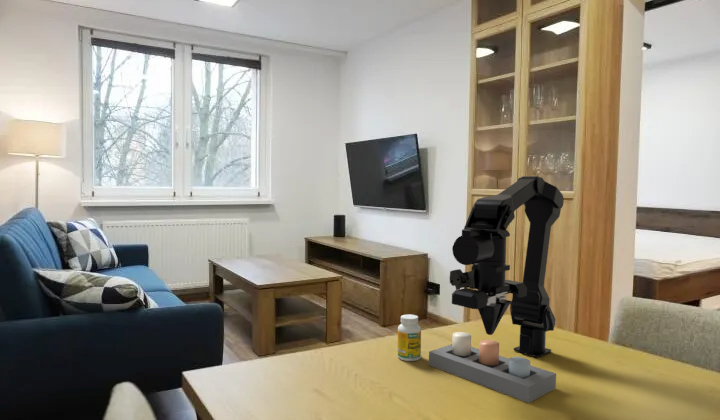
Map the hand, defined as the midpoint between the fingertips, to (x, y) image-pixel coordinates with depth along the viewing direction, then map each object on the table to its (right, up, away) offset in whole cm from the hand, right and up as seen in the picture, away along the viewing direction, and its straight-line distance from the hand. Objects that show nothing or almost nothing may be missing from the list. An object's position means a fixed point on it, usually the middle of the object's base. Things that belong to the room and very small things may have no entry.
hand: (489, 334), depth 99 cm
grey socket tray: (0, -9, 0) cm, 9 cm away
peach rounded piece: (0, -6, 0) cm, 6 cm away
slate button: (+4, -8, -5) cm, 10 cm away
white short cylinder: (-5, -6, +6) cm, 9 cm away
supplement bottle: (-16, -8, +11) cm, 21 cm away
